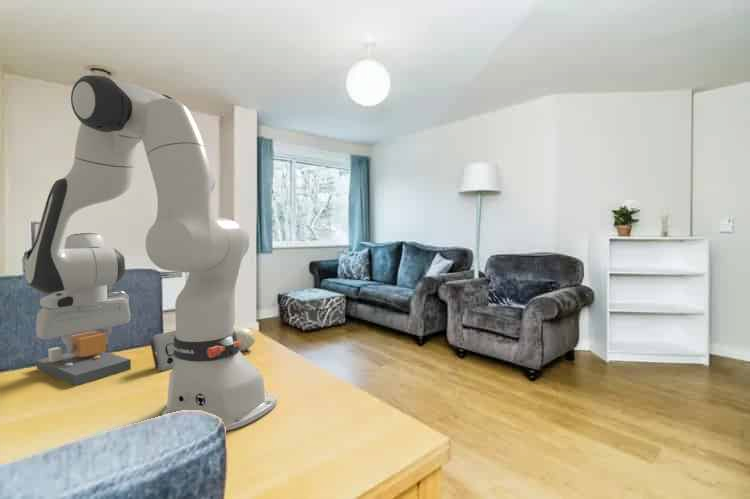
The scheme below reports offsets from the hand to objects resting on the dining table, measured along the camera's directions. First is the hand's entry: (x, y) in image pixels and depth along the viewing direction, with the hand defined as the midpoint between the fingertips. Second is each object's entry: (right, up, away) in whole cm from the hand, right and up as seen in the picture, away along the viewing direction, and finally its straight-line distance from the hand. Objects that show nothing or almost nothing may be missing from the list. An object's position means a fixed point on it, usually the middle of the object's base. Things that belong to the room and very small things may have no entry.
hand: (88, 347), depth 98 cm
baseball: (+36, -5, +14) cm, 39 cm away
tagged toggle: (0, -2, 0) cm, 2 cm away
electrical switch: (+21, -5, +1) cm, 22 cm away
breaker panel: (+1, -5, -2) cm, 6 cm away
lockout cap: (0, -1, 0) cm, 1 cm away
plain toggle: (-5, -3, -4) cm, 7 cm away
